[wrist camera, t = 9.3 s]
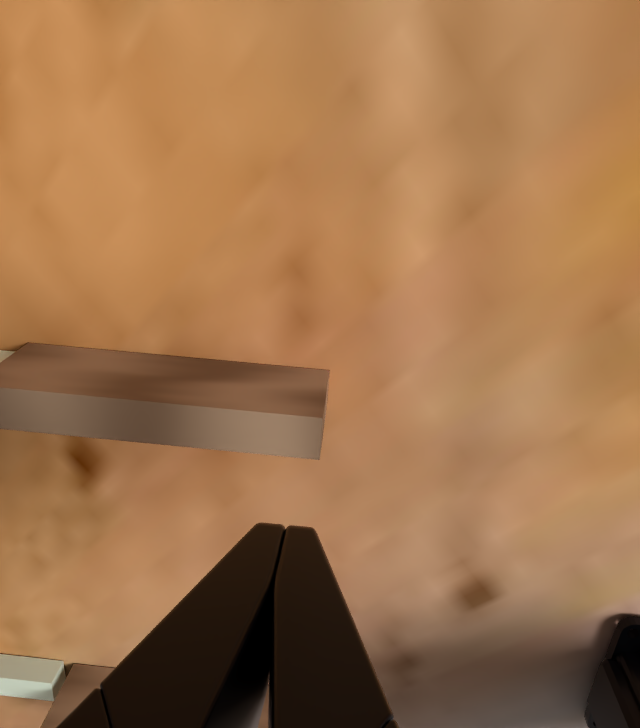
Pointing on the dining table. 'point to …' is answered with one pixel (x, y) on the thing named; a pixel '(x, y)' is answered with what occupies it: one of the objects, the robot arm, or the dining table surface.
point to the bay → (30, 665)
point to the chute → (160, 420)
